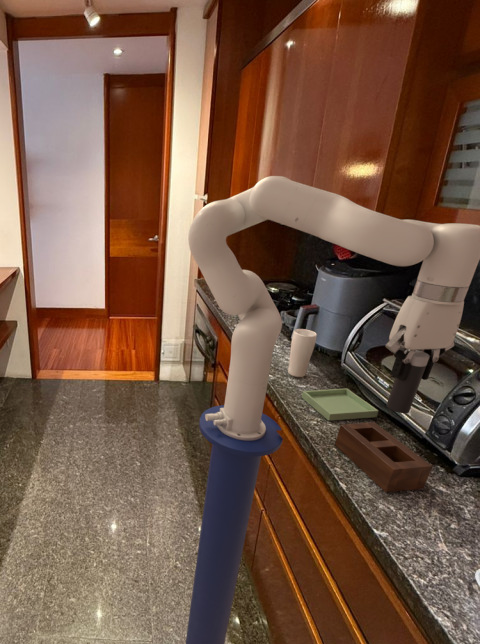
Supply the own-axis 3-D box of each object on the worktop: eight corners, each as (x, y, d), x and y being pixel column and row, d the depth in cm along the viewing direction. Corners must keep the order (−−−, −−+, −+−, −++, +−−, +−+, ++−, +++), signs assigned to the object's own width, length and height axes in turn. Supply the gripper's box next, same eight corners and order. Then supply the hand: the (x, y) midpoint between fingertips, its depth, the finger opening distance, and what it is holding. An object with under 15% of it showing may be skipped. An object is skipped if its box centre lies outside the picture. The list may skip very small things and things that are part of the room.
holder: (385, 492, 81) (393, 469, 78) (334, 444, 95) (340, 424, 93) (423, 488, 81) (432, 466, 79) (367, 442, 96) (374, 421, 94)
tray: (328, 420, 104) (330, 414, 103) (301, 397, 115) (302, 391, 115) (376, 417, 106) (378, 410, 105) (345, 394, 117) (346, 388, 116)
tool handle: (396, 414, 81) (416, 358, 76) (381, 403, 84) (399, 349, 79) (414, 413, 81) (435, 357, 76) (398, 402, 85) (417, 348, 80)
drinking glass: (311, 378, 126) (321, 336, 120) (290, 379, 126) (300, 336, 120) (301, 369, 132) (310, 328, 126) (281, 369, 132) (289, 328, 126)
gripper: (459, 285, 77) (429, 367, 84) (382, 287, 75) (357, 370, 83) (499, 296, 70) (462, 384, 77) (415, 298, 69) (385, 388, 76)
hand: (408, 376), depth 80 cm, fingers closed on tool handle, 4 cm apart
